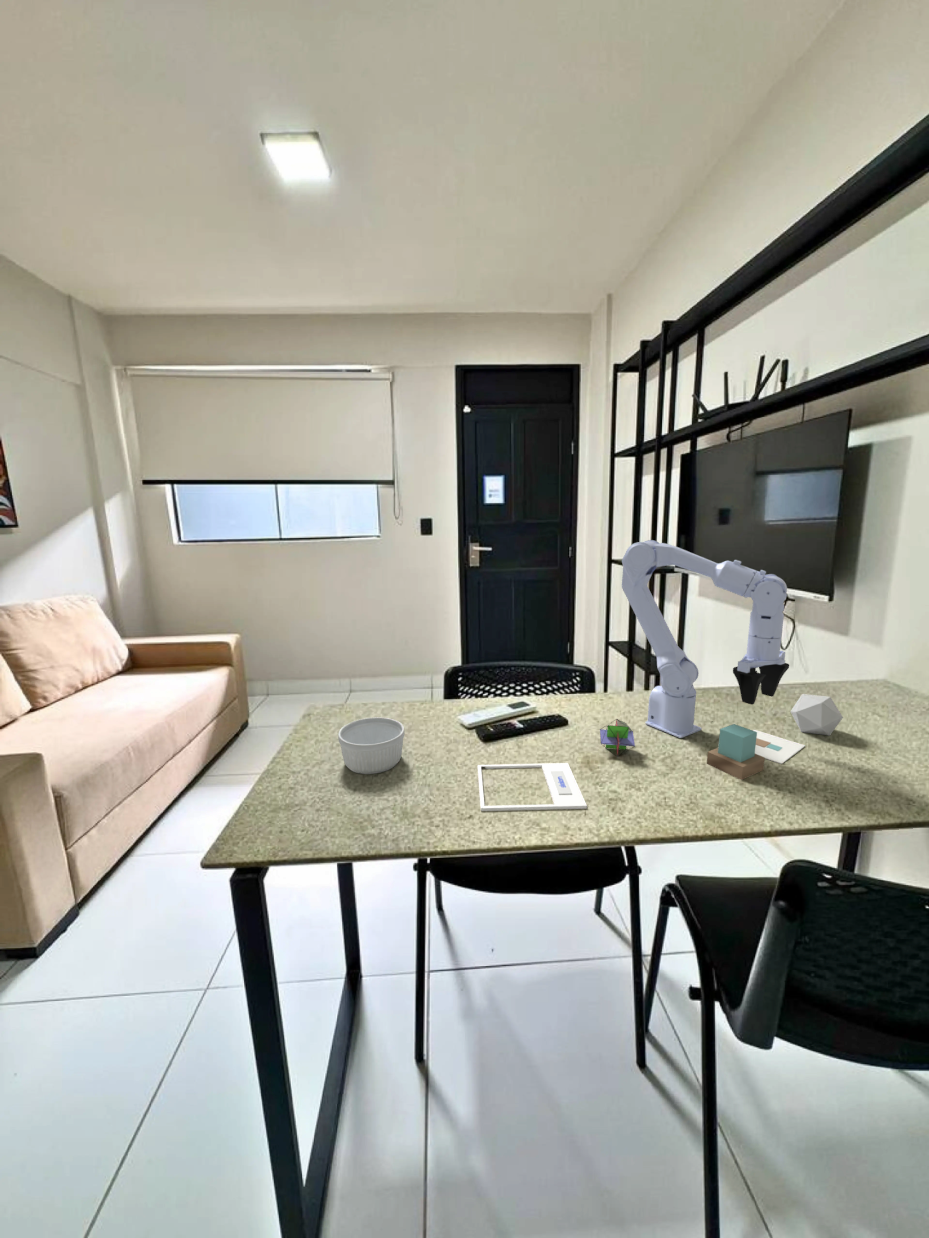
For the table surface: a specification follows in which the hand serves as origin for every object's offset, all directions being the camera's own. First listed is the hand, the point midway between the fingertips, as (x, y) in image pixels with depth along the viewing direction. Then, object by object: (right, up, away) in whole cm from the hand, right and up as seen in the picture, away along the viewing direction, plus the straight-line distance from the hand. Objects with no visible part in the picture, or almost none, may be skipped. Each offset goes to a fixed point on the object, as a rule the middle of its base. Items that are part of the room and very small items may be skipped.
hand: (757, 698), depth 100 cm
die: (+17, -9, +8) cm, 21 cm away
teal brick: (-9, -10, -7) cm, 15 cm away
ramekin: (-80, -13, -1) cm, 81 cm away
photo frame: (-50, -15, -12) cm, 53 cm away
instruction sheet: (+3, -10, +2) cm, 11 cm away
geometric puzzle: (-29, -11, +1) cm, 32 cm away
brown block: (-8, -13, -6) cm, 16 cm away
